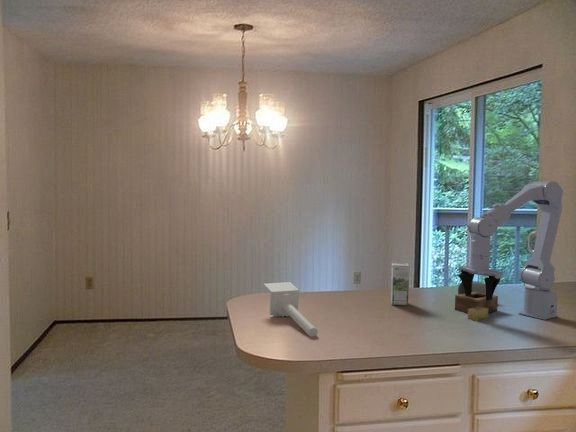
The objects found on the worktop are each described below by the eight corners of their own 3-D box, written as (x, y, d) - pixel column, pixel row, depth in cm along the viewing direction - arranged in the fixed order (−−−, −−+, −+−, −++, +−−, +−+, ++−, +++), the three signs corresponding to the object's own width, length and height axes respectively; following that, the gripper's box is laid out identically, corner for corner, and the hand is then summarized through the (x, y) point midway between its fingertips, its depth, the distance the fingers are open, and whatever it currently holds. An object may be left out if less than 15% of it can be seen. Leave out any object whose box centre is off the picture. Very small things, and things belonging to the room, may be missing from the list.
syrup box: (406, 302, 198) (407, 262, 197) (408, 306, 193) (409, 264, 192) (390, 301, 199) (391, 261, 198) (391, 305, 193) (392, 264, 192)
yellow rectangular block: (477, 316, 180) (478, 306, 180) (487, 318, 177) (488, 308, 177) (467, 319, 176) (468, 308, 176) (477, 321, 174) (478, 311, 173)
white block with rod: (290, 282, 185) (329, 316, 155) (288, 306, 187) (327, 345, 157) (263, 283, 182) (298, 319, 152) (262, 308, 183) (296, 349, 154)
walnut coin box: (474, 305, 195) (474, 291, 194) (497, 310, 187) (497, 296, 187) (454, 309, 188) (455, 295, 188) (477, 315, 181) (478, 300, 181)
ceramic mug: (488, 302, 200) (489, 281, 199) (470, 304, 197) (470, 282, 196) (469, 297, 210) (470, 277, 209) (451, 298, 207) (452, 278, 206)
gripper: (453, 253, 179) (451, 294, 180) (493, 259, 167) (491, 303, 168) (466, 251, 183) (465, 292, 184) (506, 257, 171) (504, 300, 172)
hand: (478, 297), depth 176 cm, fingers open, 7 cm apart
